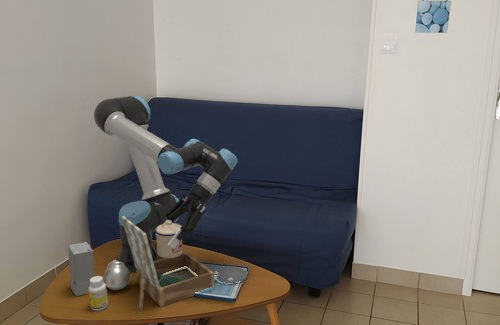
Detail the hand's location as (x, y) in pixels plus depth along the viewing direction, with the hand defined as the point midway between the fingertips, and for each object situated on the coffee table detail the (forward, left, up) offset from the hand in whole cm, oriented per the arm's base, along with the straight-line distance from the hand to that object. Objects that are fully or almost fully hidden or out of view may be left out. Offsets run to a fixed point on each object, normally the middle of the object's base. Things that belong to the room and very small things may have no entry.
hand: (164, 241), depth 156 cm
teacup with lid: (-1, +3, -5) cm, 6 cm away
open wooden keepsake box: (0, 0, -18) cm, 18 cm away
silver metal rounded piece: (-10, -14, -18) cm, 24 cm away
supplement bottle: (-2, -23, -18) cm, 29 cm away
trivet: (+6, +22, -17) cm, 29 cm away
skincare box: (-16, -24, -18) cm, 34 cm away
